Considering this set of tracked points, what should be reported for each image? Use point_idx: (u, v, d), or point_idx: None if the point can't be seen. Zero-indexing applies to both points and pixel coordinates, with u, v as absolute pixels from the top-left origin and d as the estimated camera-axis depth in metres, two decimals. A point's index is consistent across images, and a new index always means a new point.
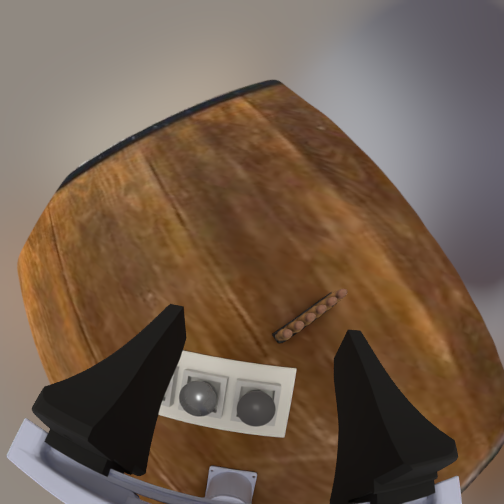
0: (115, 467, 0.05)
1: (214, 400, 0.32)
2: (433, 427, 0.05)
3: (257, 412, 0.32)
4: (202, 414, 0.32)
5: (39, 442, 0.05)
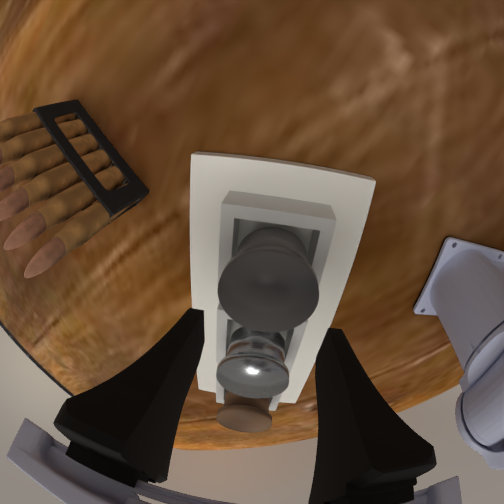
0: (141, 477, 0.05)
1: (250, 361, 0.17)
2: (411, 431, 0.05)
3: (276, 295, 0.14)
4: (284, 377, 0.17)
5: (39, 442, 0.05)
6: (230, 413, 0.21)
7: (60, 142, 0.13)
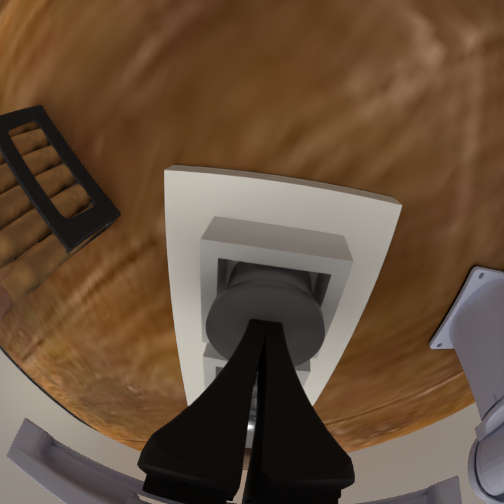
0: None
1: None
2: (328, 437, 0.06)
3: None
4: None
5: (39, 442, 0.05)
6: None
7: (12, 160, 0.09)
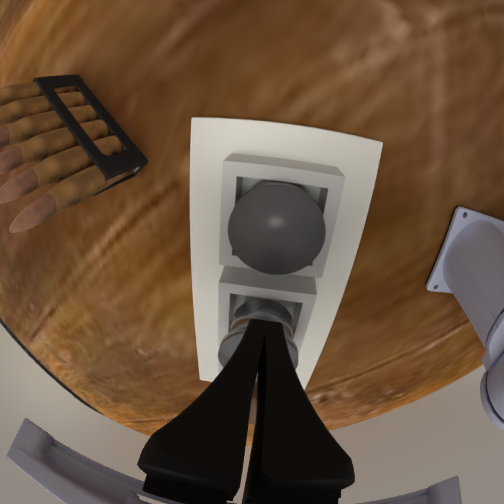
0: None
1: None
2: (328, 437, 0.06)
3: (284, 231, 0.14)
4: (293, 356, 0.16)
5: (39, 442, 0.05)
6: None
7: (59, 108, 0.12)
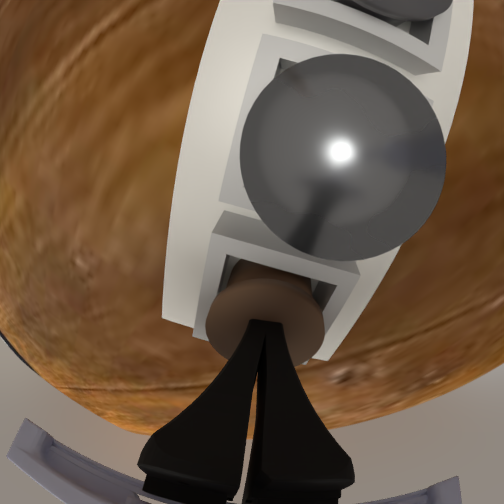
0: None
1: (367, 69, 0.05)
2: (328, 437, 0.06)
3: None
4: (437, 160, 0.05)
5: (39, 442, 0.05)
6: (243, 299, 0.10)
7: None
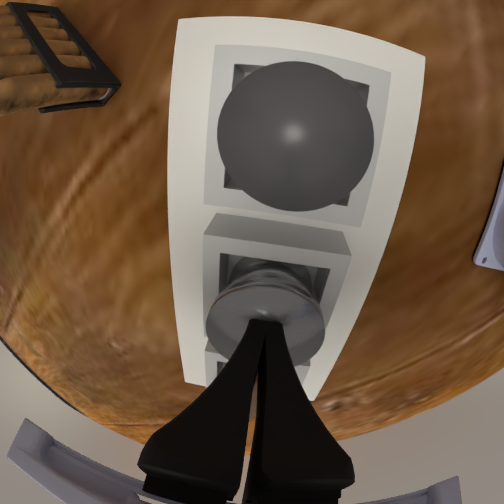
0: None
1: (263, 293, 0.10)
2: (328, 437, 0.06)
3: (309, 132, 0.08)
4: (317, 327, 0.11)
5: (39, 442, 0.05)
6: None
7: (24, 24, 0.06)
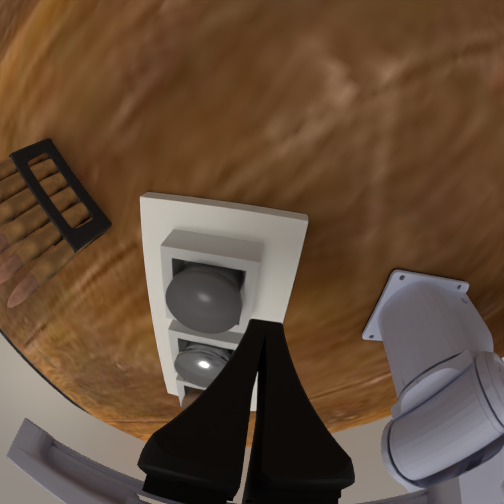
0: None
1: (198, 356, 0.21)
2: (328, 437, 0.06)
3: (207, 305, 0.17)
4: None
5: (39, 442, 0.05)
6: (191, 401, 0.25)
7: (33, 186, 0.15)
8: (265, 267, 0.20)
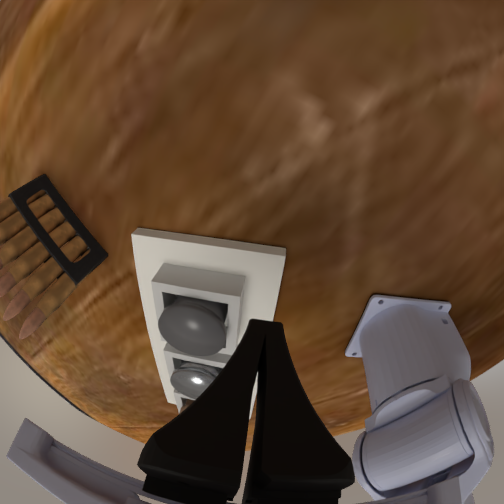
0: None
1: (191, 374, 0.22)
2: (328, 437, 0.06)
3: (195, 333, 0.19)
4: None
5: (39, 442, 0.05)
6: None
7: (33, 224, 0.17)
8: (248, 296, 0.22)
